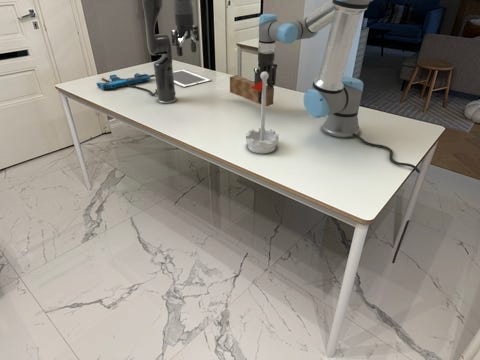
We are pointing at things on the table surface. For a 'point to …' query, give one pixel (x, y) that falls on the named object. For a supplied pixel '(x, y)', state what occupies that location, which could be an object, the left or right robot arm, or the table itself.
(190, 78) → the tablet
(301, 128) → the table surface
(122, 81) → the submachine gun
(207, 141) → the table surface
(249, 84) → the bar
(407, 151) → the table surface
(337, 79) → the right robot arm
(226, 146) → the table surface
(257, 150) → the flag stand
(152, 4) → the left robot arm
